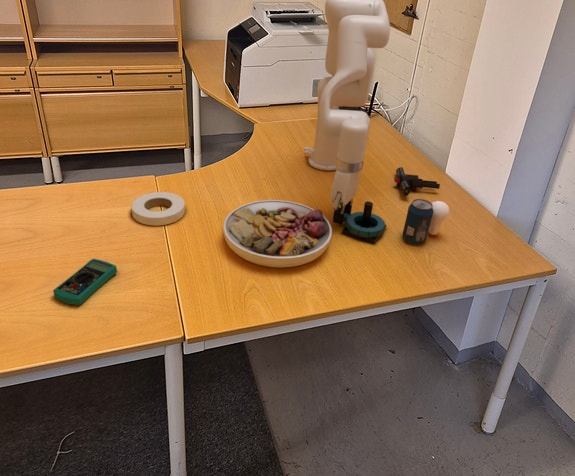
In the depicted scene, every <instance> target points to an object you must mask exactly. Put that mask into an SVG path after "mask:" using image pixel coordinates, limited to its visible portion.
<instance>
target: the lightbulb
mask: <svg viewBox="0 0 575 476" xmlns="http://www.w3.org/2000/svg"><path fill="white" fill-rule="evenodd" d="M431 204H432V205H433V207H432V208H433V216H432V220H431V223H430V227H429V231H428V234H430V235H431V236H435V235H437V234H438V232H439V230H440V228H441V225H442V224H443V222H445V221H446V220H447V219H448V218H449V216H450V207H449V206H448V204H447V203H446V202H444V201H442V200H436V201H433V202H431Z"/></svg>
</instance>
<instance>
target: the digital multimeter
mask: <svg viewBox="0 0 575 476" xmlns="http://www.w3.org/2000/svg"><path fill="white" fill-rule="evenodd" d="M117 273H118V268H117V265H115V264H114V263H111V262H108V261H105V260H101V259H97V258H92V259H90V260H89V261H88V262H86V264H83V266H82V267H81V268H80V269H78V270H77V271H76V272H74V273H73V274H72V275H71V276H70V277H68V278H67V279H66V280H63V282H62V283H61V284H59V285H58V286H57V287H55V288H54V289H53V290H52V293H53V296H54V298H56V299H57V300H59V301H60V302H63V303H66V304H69V305H76V306H80V305H82V304H83V303H84V302H85V301H86V300H87V299H88V298H89V297H90V296H92V295H93V294H94V293H95V292H96V291H97V290H98V289H100V287H102V286H103V285H104V284H105V283H107V281H109V280H110V279H111V278H112V277H113V276H114V275H116V274H117Z"/></svg>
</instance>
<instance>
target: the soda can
mask: <svg viewBox="0 0 575 476" xmlns="http://www.w3.org/2000/svg"><path fill="white" fill-rule="evenodd" d="M432 207H433V205H432V202H430V201H429V200H426V199H424V198H423V199H422V198H416V199H413V200H412V201H411V203H410V204H409V206H408V208H407V213H406V217H405V222H404V226H403V229H402V237H403V239H404V241H405V242H406V243H407V244H409V245H413V246H420V245H422V244H424V243H425V242H426V241H427V239H428V235H429V228H430V223H431V220H432V216H433V208H432Z"/></svg>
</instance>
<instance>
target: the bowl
mask: <svg viewBox="0 0 575 476" xmlns="http://www.w3.org/2000/svg"><path fill="white" fill-rule="evenodd" d="M222 231H223V237H224V239H225V242H226V244H227V245H228V247H229V248H230V249H231V250H232V251H233V252H234V253H235V254H236V255H237V256H239V257H240V258H242V259H244V260H246V261H248V262H250V263H252V264H255V265H259V266H261V267H262V266H263V267H268V268H293V267H298V266H302V265H305V264H308V263H310V262H313V261H314V260H316V259H318V258H319V257H321V255H323V254H324V253H325V252H326V250H327V249H328V247H329V246H330V244H331V241H332V236H333V229H332V225H331V223H330V222H329V219H327V217H326V216H325V215H324V214H323V211H322V210H321V209H318V208H312V207H311V206H308V205H305V204H303V203H299V202H295V201H290V200H284V199H283V200H281V199H263V200H256V201H251V202H248V203H245V204H242V205H239V206H238V207H236V208H235V209H233V210H232V211H230V212H229V213H228V215H227V216H226V217H225V218H224V221H223V225H222Z"/></svg>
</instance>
